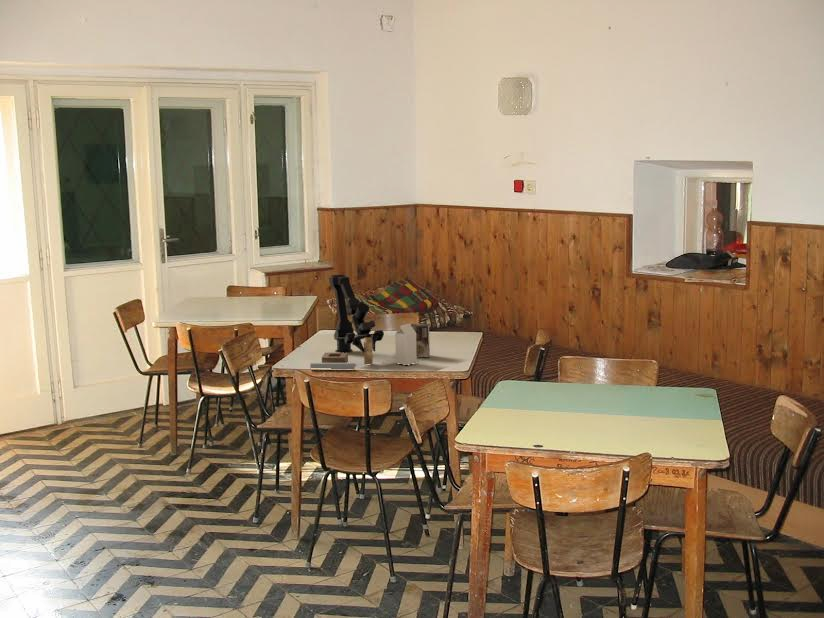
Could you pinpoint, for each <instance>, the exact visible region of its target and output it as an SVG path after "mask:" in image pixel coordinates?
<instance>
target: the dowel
mask: <svg viewBox="0 0 824 618" xmlns="http://www.w3.org/2000/svg"><path fill="white" fill-rule="evenodd" d="M363 348H364V351H365V352H364V353H363V361H364V362H363V364H372V363H373V361H374V360H373V349H372V337H364V339H363ZM373 364H374V363H373Z"/></svg>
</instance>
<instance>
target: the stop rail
mask: <svg viewBox="0 0 824 618" xmlns="http://www.w3.org/2000/svg"><path fill="white" fill-rule="evenodd" d="M354 364H355V363H354V362H348V363H322V362H311V363H310V365H309V366H310V369H311V368H331V369H354V370H355V366H354Z"/></svg>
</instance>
